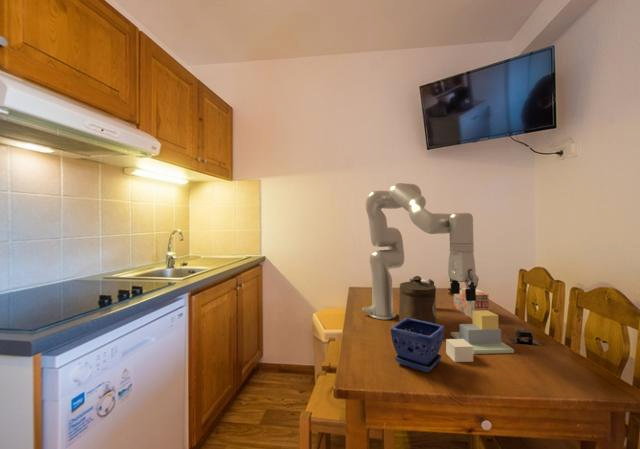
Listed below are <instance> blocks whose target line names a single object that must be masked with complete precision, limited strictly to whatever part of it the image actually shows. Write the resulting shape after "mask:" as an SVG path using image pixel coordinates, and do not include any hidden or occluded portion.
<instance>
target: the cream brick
mask: <svg viewBox="0 0 640 449" xmlns="http://www.w3.org/2000/svg"><path fill="white" fill-rule="evenodd" d="M445 354H447V356H448V357H449V358H450V359H451V360H452V361H453V362H454V363H463V362H464V363H465V362H467V363H469V362H471V363H472V362H474V354H473V346H472V345H471V344H469V343H468V342H467V341H465V340H464V339H455V338H449V339H448V338H446V339H445Z"/></svg>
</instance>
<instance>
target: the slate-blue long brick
mask: <svg viewBox="0 0 640 449" xmlns="http://www.w3.org/2000/svg"><path fill="white" fill-rule="evenodd" d="M459 332H460V338H461V339H464V340H465V341H467V342H468V343H469V344H489V343H501V342H502V328H499V327H498V329H495V330H482V329H480V328H478V327H477V326H475V325H474V324H473V323H460V324H459Z"/></svg>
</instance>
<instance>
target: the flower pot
mask: <svg viewBox="0 0 640 449" xmlns="http://www.w3.org/2000/svg"><path fill="white" fill-rule="evenodd" d="M412 328H413V329H412ZM405 329H406V331H405ZM409 329H410V331H409ZM420 330H422V332H420ZM414 332H416V333H414ZM427 333H429V334H430V335H428V334H427ZM390 336H391V341H392V345H393V348H394V350H395V353H396V355H395V356H394V359H395V361H396V362H397V363H398V364H401V365H403V366H407V367H409V368H412V369H414V370H418V371H421V372H424V373H430V371H432V370H433V369H434V368H435V366H437V364H438V363H439V361H440V360H441V359H442V357H443V355H442V354H440V353H439V352H440V349H441V347H442V344H443V341H444V336H445V326H444V325H441V324H438V323H436V324H434V323H429V322H425V321H420V320H416V319H411V318H406V319H404V320H402V321H400V322H397V323H396V324H394V325H393V326H392V327H391V328H390Z"/></svg>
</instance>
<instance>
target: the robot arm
mask: <svg viewBox="0 0 640 449" xmlns="http://www.w3.org/2000/svg"><path fill="white" fill-rule="evenodd" d="M426 200H427V199H426V198H425V197H424V195H422V191H421V188H420V187H419V186H418V185H417V184H414V183H405V182H404V183H403V182H400V183H394V184H393V185H391V187H390V189H389V190H374V191H372V192H370V193H369V194H368V195H367V196H366V200H365V210H366V213H367V214H366V215H367V218H368V227H369V234H370V242H371V245H372V246H373V247H376V248H388V249H378V250H374V251H373V252H371V254H370V256H369V264H370V269H371V288H372V289H371V290H372V291H371V292H372V293H371V295H372V296H371V298H372V300H371V302H372V303H371V304H370V306H363V307H362V312H366V313H369V317H370V318H374V319H376V320H387V321H388V320H392V319H396V317H397V314H396V312H395V311H394V310H393V308H394V307H393V277H392V275H391V273H390V270H392V269H399V268H401V267H402V266H403V265H404V264H405V251H404V250H405V249H404V241H403V235H402V233H401V231H400V230H399V229H398V228H396V227H390V226H388V221H387V220H388V219H387V216H386V214H385V213H384V212H383V211H382V209H384V210H385V209H394V210H396V209H401V208H403V209H405V211H407V213H408V215H409V218H410V221H411V222H412V223H413V224H414V225H415V226H416V227H417V228H418V229H420V230H421V231H423V232H424V233H426V234H429V235H438V234H442V235H443V234H449V254H448V264H447V265H448V268H447V269H448V270H447V273H448V274H447V275H448V278H449V284H450V294H451V295H453V294H460V290H461V286H460V285H461V284H460V283H463V284H464V285H465V288H467V289H465V290H466V301H475V300H476V289H477V290H478V288H477V287H478V285H479V284H478V282H479V280H480V279H479V276H478V275H477V274H476V262H475V256H474V252H475V249H474V248H475V247H474V243H475V242H474V217H473V215H472V214H471V213H468V212H457V213H456V212H454V213H443V212H442V213H438V212H437V213H432V212H430V211H428V209H426V208H425V206H426V203H427V202H426Z"/></svg>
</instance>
